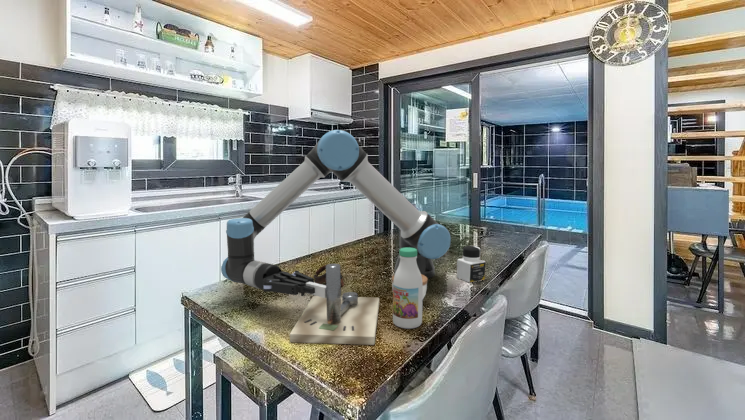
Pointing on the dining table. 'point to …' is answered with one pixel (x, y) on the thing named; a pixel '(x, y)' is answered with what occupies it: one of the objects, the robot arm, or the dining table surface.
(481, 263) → the medicine bottle
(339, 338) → the dial board
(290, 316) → the dining table surface
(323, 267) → the pottery mug
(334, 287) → the lever
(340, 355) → the dining table surface
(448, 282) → the dining table surface
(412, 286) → the milk bottle
